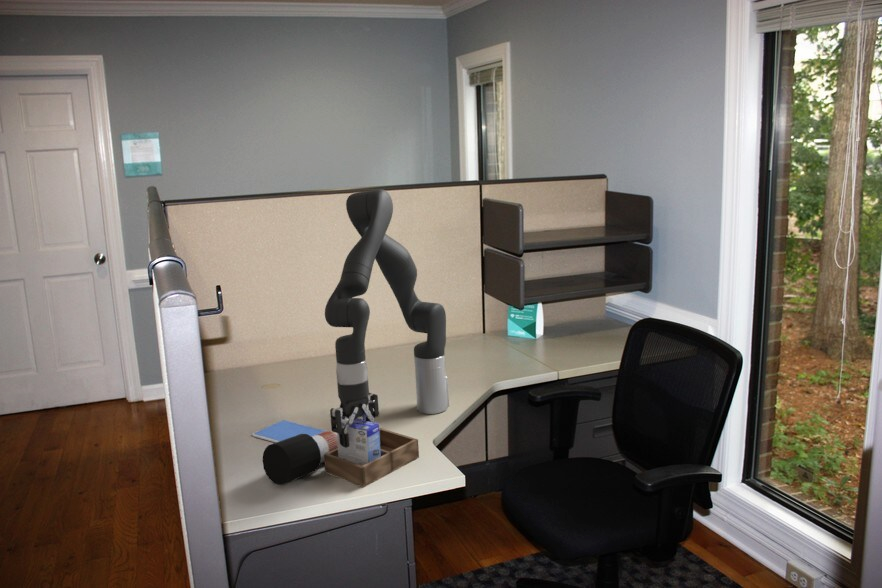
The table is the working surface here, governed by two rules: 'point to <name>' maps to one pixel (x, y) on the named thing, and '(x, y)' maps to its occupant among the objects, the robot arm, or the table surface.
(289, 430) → the blue flat pad
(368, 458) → the ink cartridge box
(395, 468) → the slot caddy
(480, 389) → the table surface
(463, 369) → the table surface
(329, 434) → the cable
